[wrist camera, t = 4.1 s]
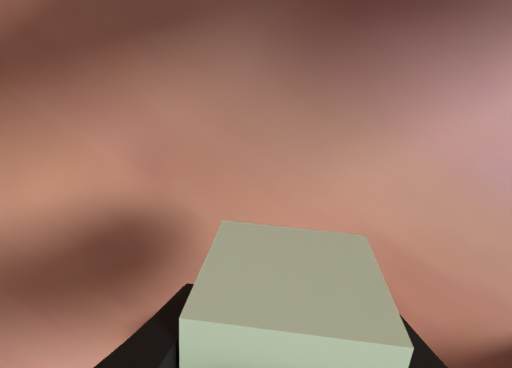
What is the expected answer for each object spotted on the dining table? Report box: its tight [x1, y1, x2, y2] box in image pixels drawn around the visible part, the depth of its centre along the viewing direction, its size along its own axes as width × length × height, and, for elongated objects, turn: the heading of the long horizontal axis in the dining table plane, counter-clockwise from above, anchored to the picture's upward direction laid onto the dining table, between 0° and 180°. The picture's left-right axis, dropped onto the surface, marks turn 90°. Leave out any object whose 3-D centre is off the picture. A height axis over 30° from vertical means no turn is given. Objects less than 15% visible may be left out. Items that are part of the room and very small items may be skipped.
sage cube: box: [179, 220, 414, 368], centre depth 8 cm, size 4×4×4 cm
